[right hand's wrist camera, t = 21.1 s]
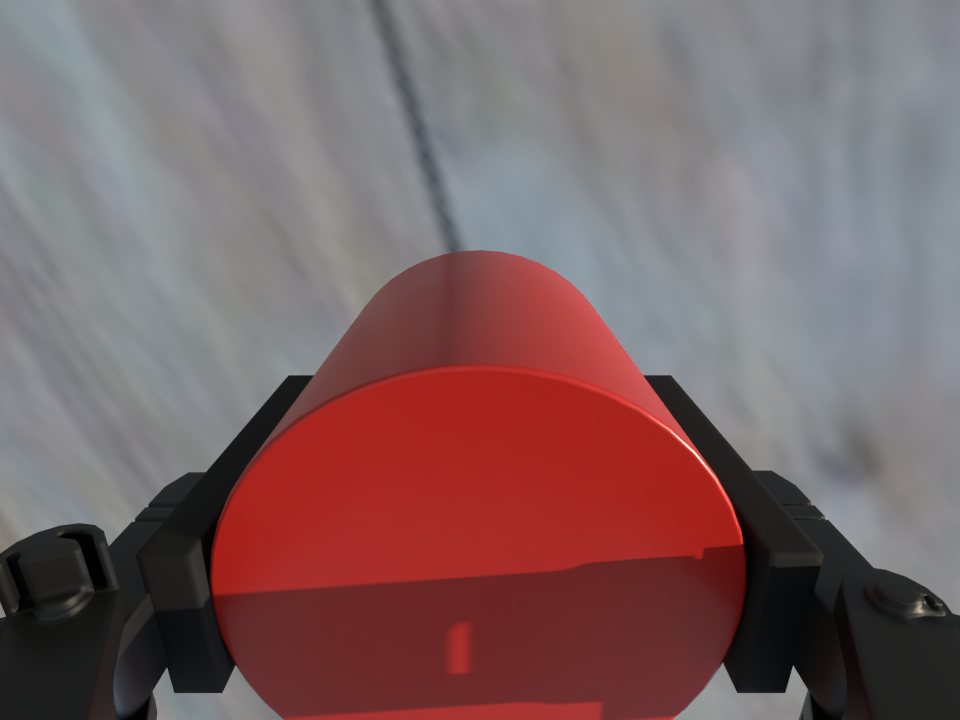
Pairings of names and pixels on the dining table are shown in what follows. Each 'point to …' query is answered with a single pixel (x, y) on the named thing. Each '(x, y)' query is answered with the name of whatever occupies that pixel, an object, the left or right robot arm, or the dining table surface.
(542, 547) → the canister
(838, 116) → the dining table surface
